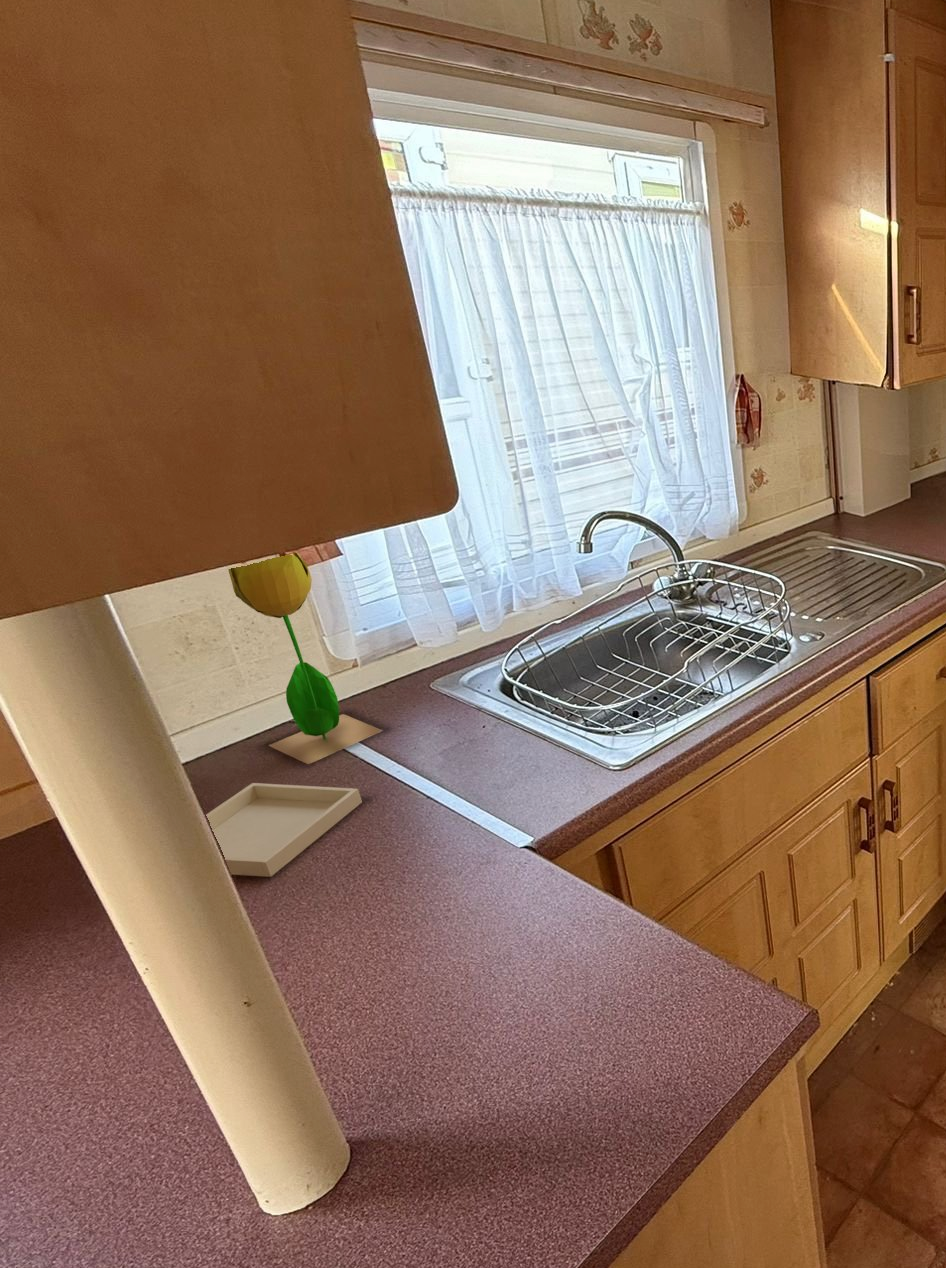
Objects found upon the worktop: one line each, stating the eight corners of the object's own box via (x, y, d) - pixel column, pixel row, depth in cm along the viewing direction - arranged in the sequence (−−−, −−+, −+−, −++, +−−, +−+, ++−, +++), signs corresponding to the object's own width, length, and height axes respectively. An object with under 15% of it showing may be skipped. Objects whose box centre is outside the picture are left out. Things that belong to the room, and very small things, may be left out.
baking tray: (153, 873, 100) (145, 855, 99) (258, 798, 113) (252, 782, 112) (272, 879, 99) (265, 862, 98) (363, 804, 112) (358, 788, 111)
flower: (362, 741, 125) (302, 550, 113) (291, 760, 120) (221, 563, 108) (355, 717, 131) (297, 533, 119) (288, 734, 126) (220, 544, 114)
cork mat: (309, 767, 119) (308, 764, 119) (268, 748, 123) (267, 745, 123) (384, 733, 128) (383, 730, 128) (344, 716, 132) (343, 713, 131)
